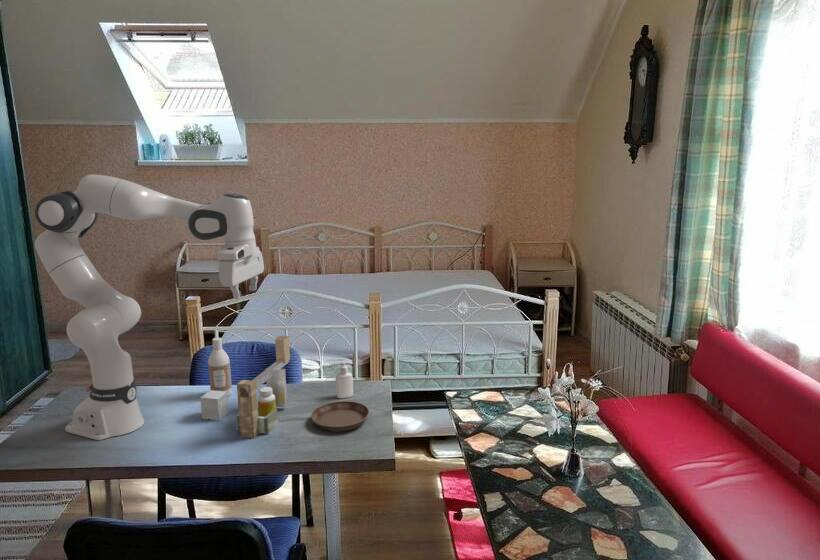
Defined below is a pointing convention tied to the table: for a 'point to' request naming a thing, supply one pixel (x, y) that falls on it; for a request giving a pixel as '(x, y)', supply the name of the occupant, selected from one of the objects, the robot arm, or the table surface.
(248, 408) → the frame
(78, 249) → the robot arm
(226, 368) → the bath foam
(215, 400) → the product box
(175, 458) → the table surface
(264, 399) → the supplement bottle
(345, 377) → the eye dropper bottle
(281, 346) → the rod with square block
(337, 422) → the plant saucer
